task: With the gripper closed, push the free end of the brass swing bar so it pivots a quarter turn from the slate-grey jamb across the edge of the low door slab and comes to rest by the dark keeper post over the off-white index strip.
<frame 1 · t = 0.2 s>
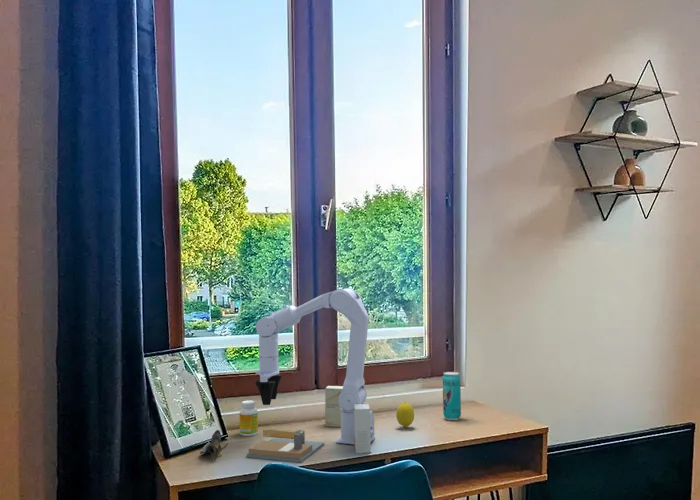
hand: (269, 401, 185), 10 cm above the table, tool pointing down, fingers open, 7 cm apart
skincare box: (336, 425, 196), on the table
eagle figurine: (213, 457, 165), on the table
beverage can: (452, 419, 202), on the table
lemon: (405, 428, 191), on the table
supplement bottle: (248, 434, 187), on the table
latch board: (286, 450, 169), on the table
skincare box 2: (362, 450, 169), on the table
swing bar: (284, 436, 173), point 3 cm above the table, hinge at 0.0°
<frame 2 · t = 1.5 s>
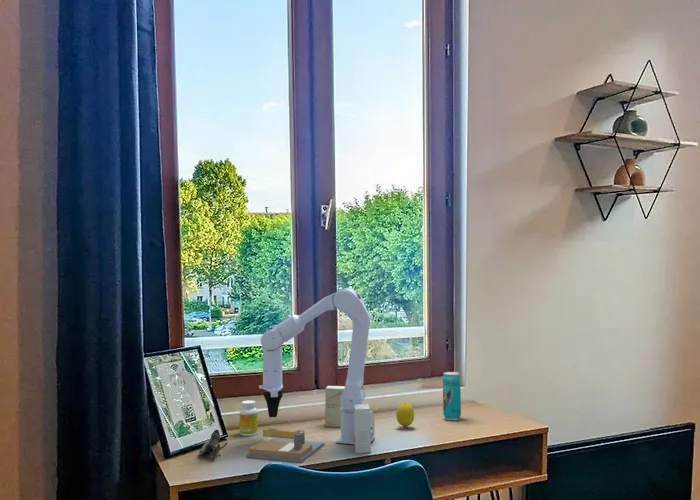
hand: (272, 416, 181), 6 cm above the table, tool pointing down, fingers closed
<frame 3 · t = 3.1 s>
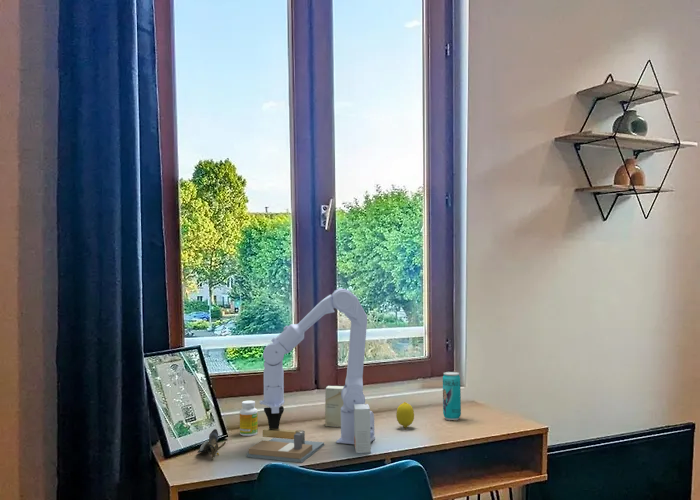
hand: (273, 432, 176), 3 cm above the table, tool pointing down, fingers closed, pressing on swing bar
swing bar: (284, 436, 173), point 3 cm above the table, hinge at 1.4°, touching gripper
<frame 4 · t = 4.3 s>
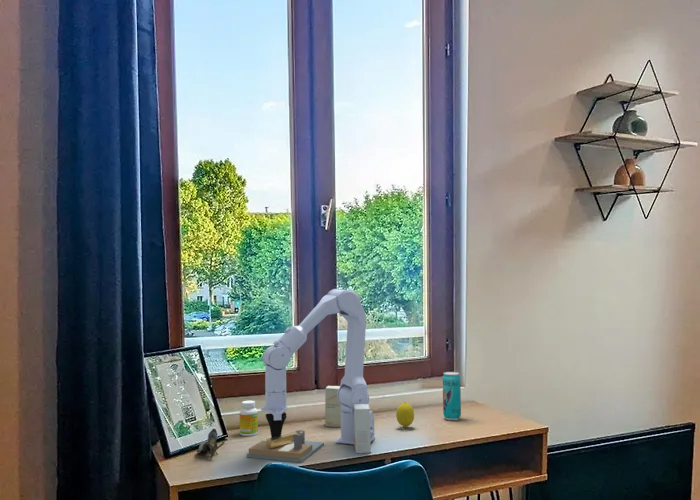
hand: (276, 440, 168), 3 cm above the table, tool pointing down, fingers closed, pressing on swing bar
swing bar: (286, 441, 168), point 3 cm above the table, hinge at 64.8°, touching gripper
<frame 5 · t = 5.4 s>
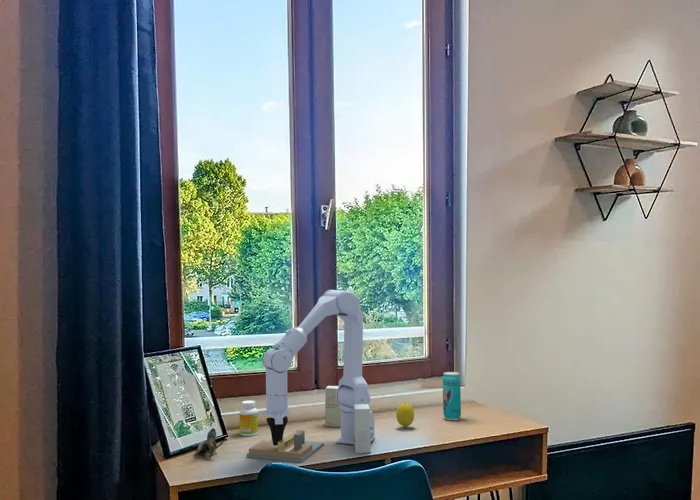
hand: (277, 444, 164), 3 cm above the table, tool pointing down, fingers closed, pressing on swing bar
swing bar: (291, 442, 167), point 3 cm above the table, hinge at 87.0°, touching gripper
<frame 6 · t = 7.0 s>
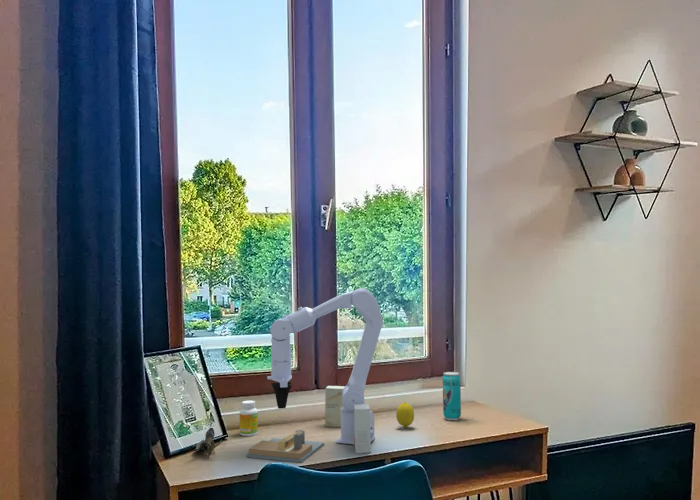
hand: (281, 408, 177), 10 cm above the table, tool pointing down, fingers closed
swing bar: (292, 442, 167), point 3 cm above the table, hinge at 87.5°
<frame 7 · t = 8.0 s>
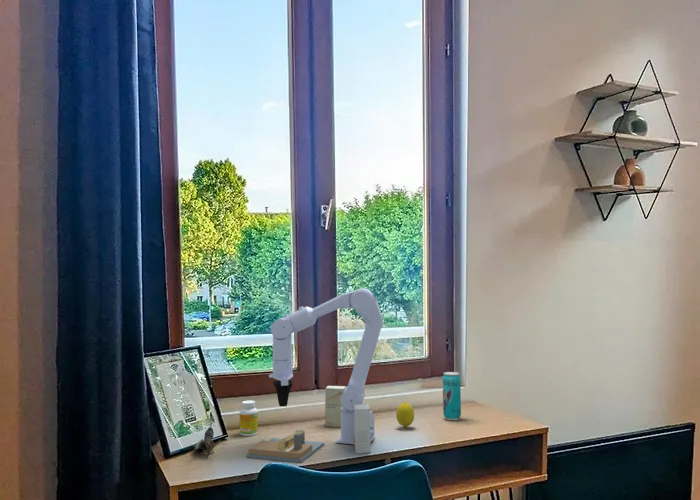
hand: (283, 405, 180), 10 cm above the table, tool pointing down, fingers closed
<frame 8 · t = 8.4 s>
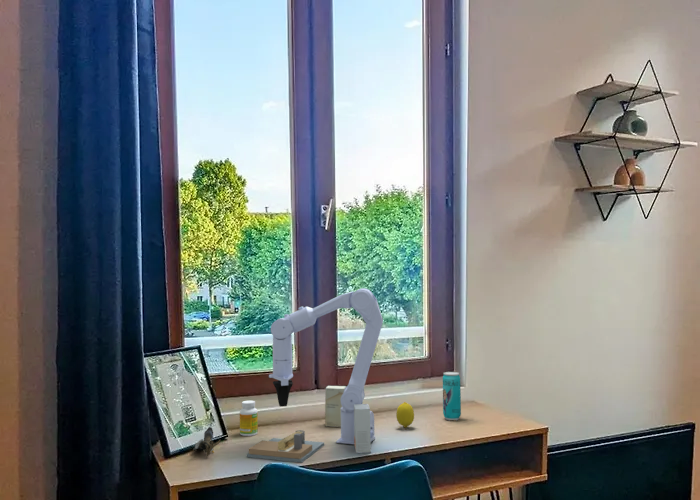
hand: (283, 405, 180), 10 cm above the table, tool pointing down, fingers closed
at the end: swing bar at +88° (first picture: +0°) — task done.
